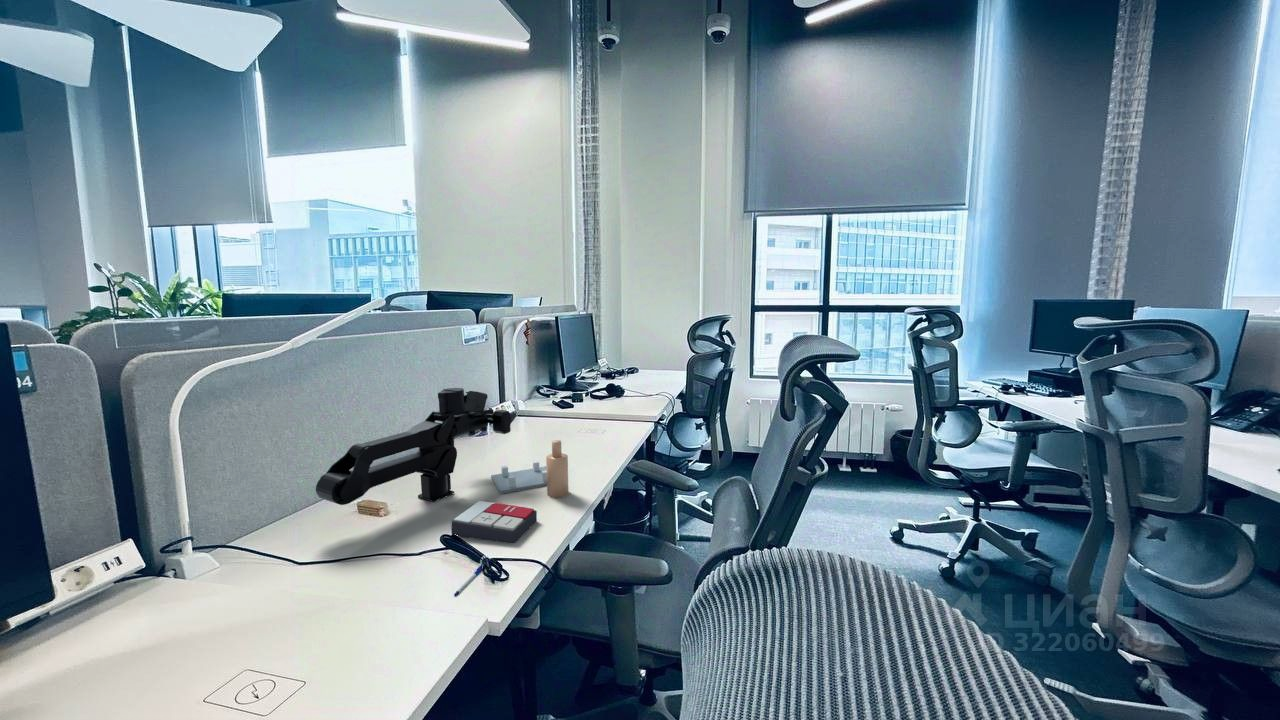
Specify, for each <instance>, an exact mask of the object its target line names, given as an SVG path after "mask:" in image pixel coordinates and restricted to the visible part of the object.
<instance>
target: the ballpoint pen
mask: <svg viewBox="0 0 1280 720" xmlns="http://www.w3.org/2000/svg"><path fill="white" fill-rule="evenodd" d="M482 571H483V570H482V564H480V565H479V566H478V568H476V570H475V571H474V572H473V574H472V575H471V576H470V577H469V578H468V579H467V580H466V581H465V582H464V583H463V584H462V585H460V587H459V588H458V589H457V590H456V591H455V593H454V594H453V596H454V595H455V596H454V597H457V596H458V595H459V594H460V593H461V592H462V591H463V590H464V589H465V588H466V587H467V586H468V585H469V584H470V583H471V582H472V581H474V579H475V578H476V577H478V575H479V574H480V573H481V572H482ZM456 595H457V596H456Z"/></svg>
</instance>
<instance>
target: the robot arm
mask: <svg viewBox="0 0 1280 720" xmlns="http://www.w3.org/2000/svg"><path fill="white" fill-rule="evenodd" d="M488 398H489V397H488V394H487V393H484V392H480V391H477V390H476V391H475V390H469V391H465V389H464V388H462V387H450V388H449V387H448V388H443V389H442V390H440V392H438V393H437V399H438V406H439V407H438V408H439V409H438V410H439V411H434V410H433V411H431V413H430V414H429V415H428V416H427V417H426V418H425V420H424V421H422V422H420V423H418V424H415V425H413V426H412V427H411V428H410V429H409V430H407V431H403V432H399V433H396V434H393V435H389V436H385V437H381V438H378V439H377V438H376V439H374V440H369V441H366V442H362V443H356V444H353V445H352V446H350V448H348V450H347V451H346V453H345V454H344V455H343V456H342V457H340V458H339V459H337V461H335V462H334V463H333V464H332V465H331V466H330V467H329V469H328V470H327V471H326V472H325V473H324V474H322V475H321V476H320V478H319V479H318V481H317V483H316V486H315V493H316V495H317V497H319V498H320V499H322V500H323V501H324V500H325V501H328V502H331V503H334V504H337V505H341V506H345V505H348V504H350V503H353V502H354V501H356V500H358V499H360V498H362V497H363V496H364V495H365V494H366V493H367V492H368V491H369V490H370V489H372V488H374V487H376V486H380V485H383V484H386V483H389V482H392V481H395V480H397V479H400V478H403V477H405V476H408V475H412V474H414V473H415V474H416V473H418V474H420V487H421V489H420V490H421V493H420V494H418V495H417V498H419V499H422V500H427V501H429V502H433V503H434V502H435V503H436V502H437V501H439V500H442V499H444V498H446V497H449V496H452V495H454V494H455V491H454V490H451V489H452V483H451V474H453V473H454V471H455V466H456V461H457V456H458V449H457V448H456V447H455V439H457V438H461V437H463V436H467V435H470V436H475V435H476V433H477V432H487V431H488V426H489V424H492V431H493V432H495V434H500V435H501V434H502V435H506V434H507V435H508V434H509V433H510V432H511V424H512V423H513V421H515V419H516V418H517V413H516V412H510V411H508V410H505V409H497V410H494V409H485V408H486V404H487V400H488ZM436 421H437V422H436ZM416 448H418V449H417V450H416V452H414V453H411V454H408V455H404V456H402V457H397V458H396V459H392V460H388V461H385V462H383V463H379V464H376V465H373V466H371V465H372V464H373V463H374V461H376V460H380V459H383V458H386V457H390V456H392V455H397V454H400V453H402V452H405V451H409V450H413V449H416ZM351 469H352V470H351Z"/></svg>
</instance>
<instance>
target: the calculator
mask: <svg viewBox="0 0 1280 720" xmlns="http://www.w3.org/2000/svg"><path fill="white" fill-rule="evenodd" d="M537 513H538V512H537V510H535V509H534V508H531V507H524V506H518V505H512V504H506V503H501V502H494V503H493V502H489V501H483V500H478V502H476V503H474V504H473V505H472V506H470V507H469V508H468V509H466V510H465V511H463V512H462V513H461V514H459V515H458V516H457V517H455V518H454V519H453V520H452V521H450V522H451V524H450V525H451V528H450V529H451V535H452V534H456V535H458V536H460V537H459V538H463V539H470V538H471V539H476V540H483V541H488V542H496V543H497V542H498V543H505V544H511V543H512V544H513V543H514V544H515V542H516V541H517V542H518V541H519V540H520V539H521V537H523V536H524V535H525V534H526V533H527V532H528V530H530V529H531V528H532V527H533V526H534V525H535V523H537V521H538V520H537V516H538V515H537ZM517 542H516V543H517ZM514 544H513V545H514Z"/></svg>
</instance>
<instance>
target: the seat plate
mask: <svg viewBox="0 0 1280 720" xmlns="http://www.w3.org/2000/svg"><path fill="white" fill-rule="evenodd" d="M500 467H501V473H498V474H491V476H490V479H491V478H492V479H491V480H492V482H493V484H494V483H495V484H494V486H495V487H496V489H497V491H498V492H499V494H500V495H502V494H506V493H507V494H508V492H509V493H512V492H513V491H514V492H518V491H519V490H520V491H523V490H530V488H531V489H536V488H540V487H541V486H542V487H547V486H546V485H547V470H546V466H542V467H541V466H540V462H539V460H535V461H533V462H532V468H528V469H522V470H516V471H510V472H509V468H508V466H507V465H502V466H500ZM514 492H513V493H514Z"/></svg>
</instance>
